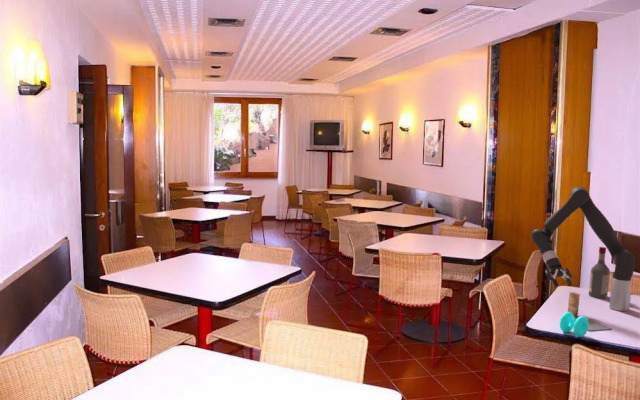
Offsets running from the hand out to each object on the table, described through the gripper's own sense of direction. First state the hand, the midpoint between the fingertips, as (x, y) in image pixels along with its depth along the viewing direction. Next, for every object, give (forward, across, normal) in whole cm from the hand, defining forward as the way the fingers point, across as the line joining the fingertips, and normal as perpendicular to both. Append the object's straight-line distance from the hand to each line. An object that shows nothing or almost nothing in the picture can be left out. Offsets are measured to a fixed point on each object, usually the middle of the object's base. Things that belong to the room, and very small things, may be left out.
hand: (563, 286), depth 298 cm
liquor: (-5, +43, +25) cm, 50 cm away
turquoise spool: (+33, -20, -13) cm, 41 cm away
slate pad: (+26, -2, -7) cm, 27 cm away
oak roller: (+16, 0, +4) cm, 16 cm away
